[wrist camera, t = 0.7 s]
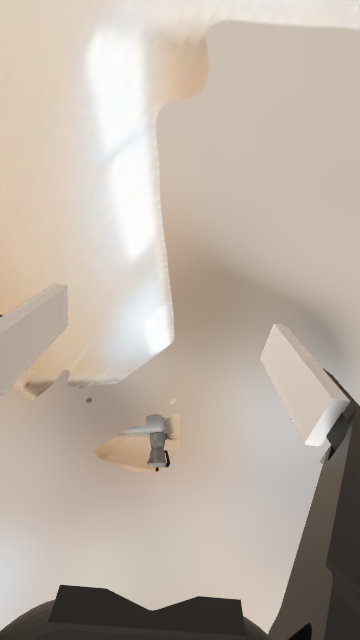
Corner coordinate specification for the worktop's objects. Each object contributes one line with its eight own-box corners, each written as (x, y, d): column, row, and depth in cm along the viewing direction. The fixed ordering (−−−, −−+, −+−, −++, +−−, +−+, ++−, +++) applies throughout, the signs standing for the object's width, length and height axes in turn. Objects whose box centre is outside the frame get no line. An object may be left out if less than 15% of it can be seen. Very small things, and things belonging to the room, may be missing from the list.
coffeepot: (143, 434, 137) (141, 471, 125) (153, 430, 132) (152, 468, 120) (164, 439, 145) (164, 474, 133) (174, 435, 140) (175, 471, 128)
